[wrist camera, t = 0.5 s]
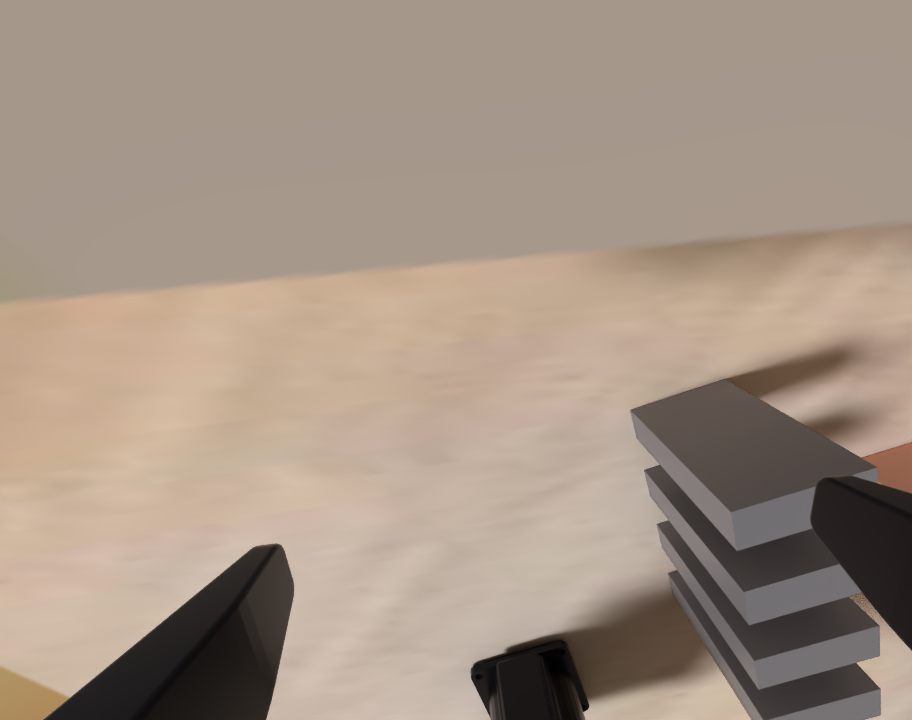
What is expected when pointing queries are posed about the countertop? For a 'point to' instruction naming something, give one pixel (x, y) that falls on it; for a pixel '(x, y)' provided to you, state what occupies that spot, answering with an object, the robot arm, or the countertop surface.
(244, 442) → the countertop surface
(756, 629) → the domino
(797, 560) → the domino
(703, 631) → the domino
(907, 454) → the domino
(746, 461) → the domino
